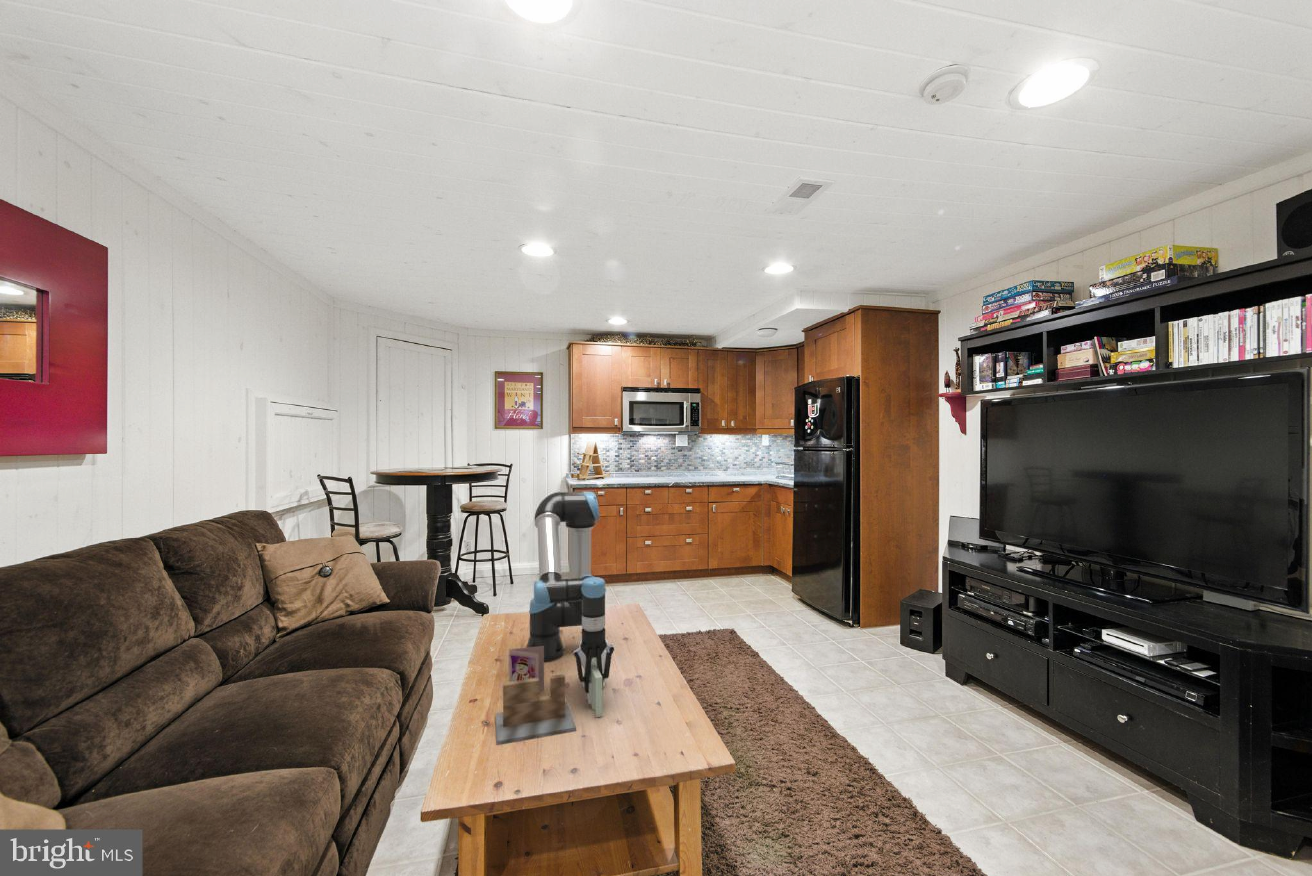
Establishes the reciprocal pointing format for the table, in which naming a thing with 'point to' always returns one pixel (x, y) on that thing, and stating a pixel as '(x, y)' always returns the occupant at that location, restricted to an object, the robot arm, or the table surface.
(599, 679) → the sage plate
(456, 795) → the table surface
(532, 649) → the greeting card
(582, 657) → the cup
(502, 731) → the wood panel stand
